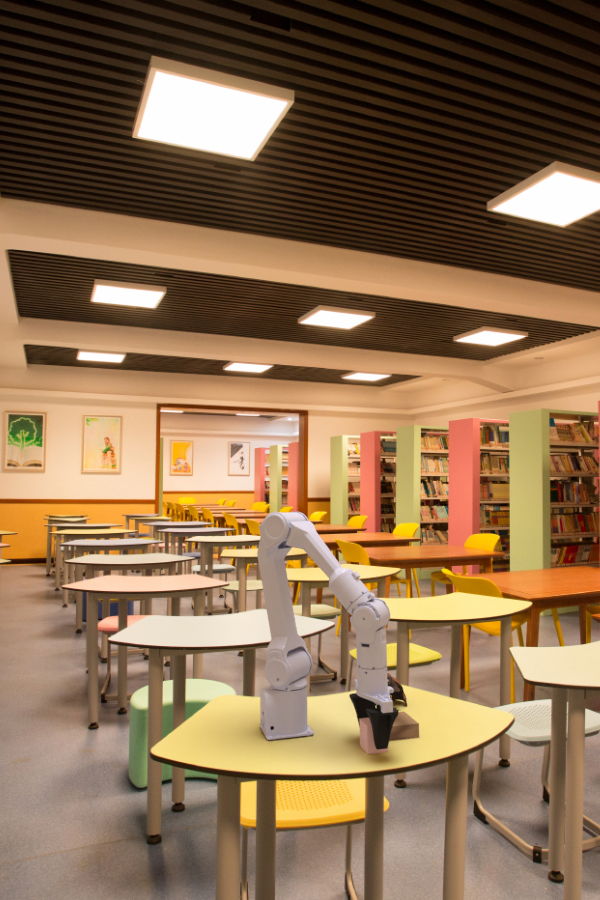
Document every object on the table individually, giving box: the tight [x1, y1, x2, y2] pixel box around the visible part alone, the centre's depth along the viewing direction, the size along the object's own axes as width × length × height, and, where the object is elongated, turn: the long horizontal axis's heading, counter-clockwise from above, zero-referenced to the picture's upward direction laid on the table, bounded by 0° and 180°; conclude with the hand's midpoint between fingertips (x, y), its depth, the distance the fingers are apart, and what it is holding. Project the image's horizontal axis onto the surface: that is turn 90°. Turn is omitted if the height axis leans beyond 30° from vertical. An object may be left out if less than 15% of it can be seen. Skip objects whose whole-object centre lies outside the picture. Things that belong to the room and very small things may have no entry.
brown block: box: [389, 711, 420, 742], centre depth 118 cm, size 7×7×3 cm
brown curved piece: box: [387, 672, 408, 707], centre depth 135 cm, size 12×10×8 cm
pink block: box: [359, 718, 389, 755], centre depth 110 cm, size 4×4×5 cm
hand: (373, 740), depth 110 cm, fingers open, 7 cm apart
